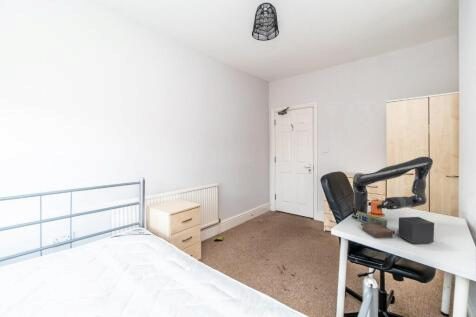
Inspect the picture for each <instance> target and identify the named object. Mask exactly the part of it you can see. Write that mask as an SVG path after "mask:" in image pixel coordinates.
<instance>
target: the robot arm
mask: <svg viewBox="0 0 476 317" xmlns="http://www.w3.org/2000/svg"><path fill="white" fill-rule="evenodd" d="M433 163H434V160H433V158H431V157H430V156H419V157H416V158H413V159H410V160H407V161H404V162H400V163H397V164H393V165H389V166H385V167H382V168H380V169H378V170H377V171H374V172H369V173H362V172H357V173H355V174H354V175H353V177H352V190H353V206H351V211H352V212H353V214H352V215H353V216H355V217H357V218H358V216H357V215H358V212H357V211H359V212H363V213H366V214H368V212H369V211H368V210H369V208H368V207H371V201H380V202H382V205H377V208H378V209H381V208H382V210H385V209H386V210H391V211H392V210H399V209H405V208H416V207H417V208H418V207H420V206H424V205H425V204H426V203H427V201H428V199H427V195H426V188H427V176H428V175H429V173H430V171H431V169H432V167H433ZM412 170H414V178H413V182H412V185H411V193H412V194H413V195H411V196H406V195H405V196H390V197H385V199H382V200H380V199H378V198H377V199H372V200H371V201H368V200H369V199H368V198H369V192H368V189H367V186H369V185H372V184H375V183H379V182H383V181H388V180H393V179H397V178H400V177H402V176H404V175H405V174H407V173H408V172H410V171H412Z"/></svg>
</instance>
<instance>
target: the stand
mask: <svg viewBox="0 0 476 317" xmlns="http://www.w3.org/2000/svg"><path fill="white" fill-rule="evenodd" d="M360 226H361V227H362V231H363V232H365V233H366V234H368V235H369V236H371V237H372V238H374V239H385V238H387V239H388V238H391V239H392V238H393V235H394V234H395V230H393V229H391V228H389V227H388V226H387V227H386V226H384V225H382V224H380V223H363V222H360Z"/></svg>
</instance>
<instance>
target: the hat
mask: <svg viewBox="0 0 476 317" xmlns="http://www.w3.org/2000/svg"><path fill="white" fill-rule="evenodd" d="M380 201H381V200H379V201H372V200H370V202H371V206H370V211H368V215H370V216H374V217H379V218H384V217H386V214H385V213H383V208H381V209H378V208H377V205H382V202H380Z"/></svg>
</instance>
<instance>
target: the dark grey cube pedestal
mask: <svg viewBox="0 0 476 317" xmlns="http://www.w3.org/2000/svg"><path fill="white" fill-rule="evenodd" d="M398 237H400V238H402V239H404V240H405V241H408V242H409V243H411V244H414V245H420V244H421V245H425V244H429V243H434V241H435V238H434V237H435V222H433V221H430V220H428V219H426V218H422V217H420V216H404V217H401V216H399V217H398Z"/></svg>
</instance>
